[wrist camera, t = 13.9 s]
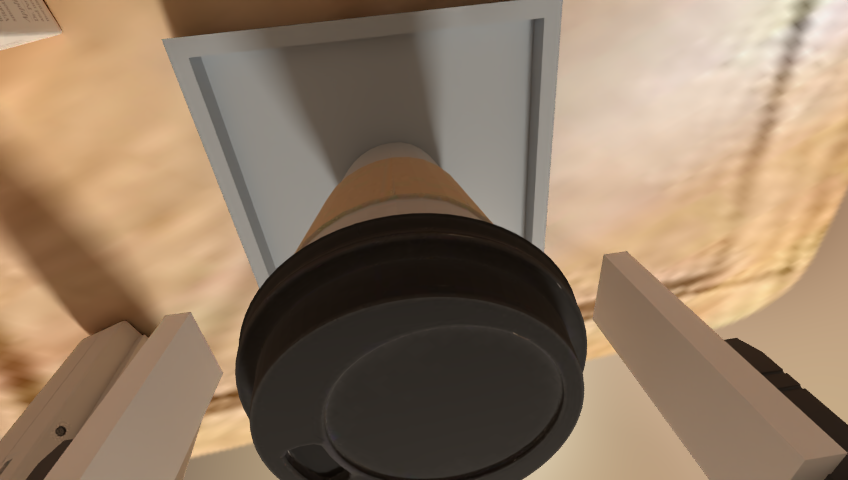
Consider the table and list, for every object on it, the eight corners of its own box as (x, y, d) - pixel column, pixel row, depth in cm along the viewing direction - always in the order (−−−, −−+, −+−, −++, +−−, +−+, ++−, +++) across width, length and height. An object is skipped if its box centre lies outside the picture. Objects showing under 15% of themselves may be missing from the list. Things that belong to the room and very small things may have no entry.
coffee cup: (282, 208, 22) (138, 477, 9) (376, 66, 19) (373, 156, 6) (411, 283, 25) (447, 553, 12) (509, 175, 22) (694, 383, 9)
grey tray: (180, 38, 18) (161, 39, 16) (547, -2, 18) (563, -5, 17) (285, 321, 26) (279, 340, 25) (530, 286, 27) (540, 302, 26)
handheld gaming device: (131, 314, 25) (77, 339, 25) (-68, 596, 12) (-180, 651, 12) (218, 392, 29) (173, 414, 29) (139, 657, 17) (59, 698, 16)
